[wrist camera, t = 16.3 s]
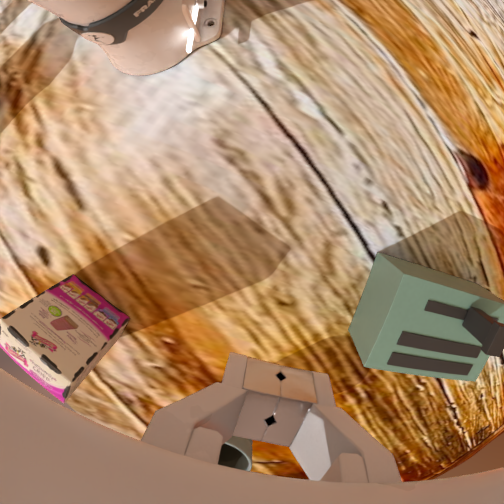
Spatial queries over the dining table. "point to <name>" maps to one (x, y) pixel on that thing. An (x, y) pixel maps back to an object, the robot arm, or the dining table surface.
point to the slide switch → (485, 331)
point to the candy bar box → (61, 335)
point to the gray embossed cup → (236, 453)
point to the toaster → (420, 321)
